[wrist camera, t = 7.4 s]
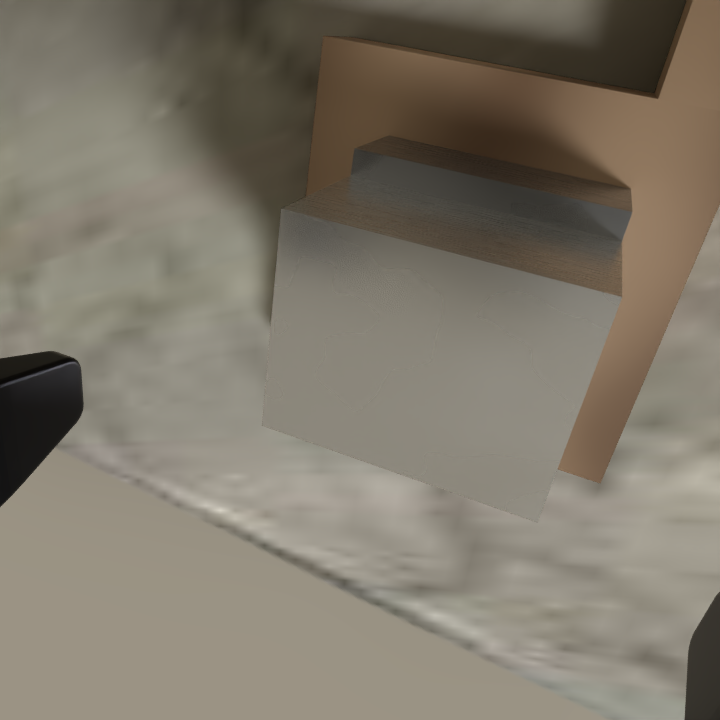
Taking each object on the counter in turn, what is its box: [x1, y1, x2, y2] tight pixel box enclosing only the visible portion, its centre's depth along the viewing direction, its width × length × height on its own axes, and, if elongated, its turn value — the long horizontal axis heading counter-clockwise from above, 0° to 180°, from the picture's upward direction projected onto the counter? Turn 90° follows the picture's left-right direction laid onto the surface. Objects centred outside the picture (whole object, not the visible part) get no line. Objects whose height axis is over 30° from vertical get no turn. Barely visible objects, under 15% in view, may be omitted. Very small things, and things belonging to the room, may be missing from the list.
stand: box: [306, 36, 720, 483], centre depth 18 cm, size 10×10×2 cm
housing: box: [262, 135, 633, 522], centre depth 15 cm, size 6×6×6 cm
